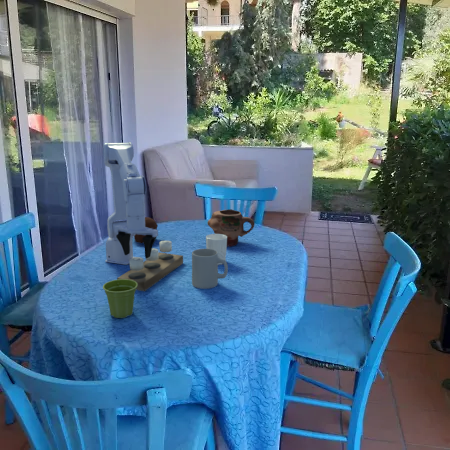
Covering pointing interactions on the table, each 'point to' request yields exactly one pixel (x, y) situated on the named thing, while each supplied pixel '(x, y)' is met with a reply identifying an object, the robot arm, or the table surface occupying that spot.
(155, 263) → the knob strip
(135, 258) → the knob near
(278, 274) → the table surface
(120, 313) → the plant pot
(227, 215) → the brown ceramic rounded pot
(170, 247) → the knob far
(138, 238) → the muffin
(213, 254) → the mug
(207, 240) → the white cup
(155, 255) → the knob middle
